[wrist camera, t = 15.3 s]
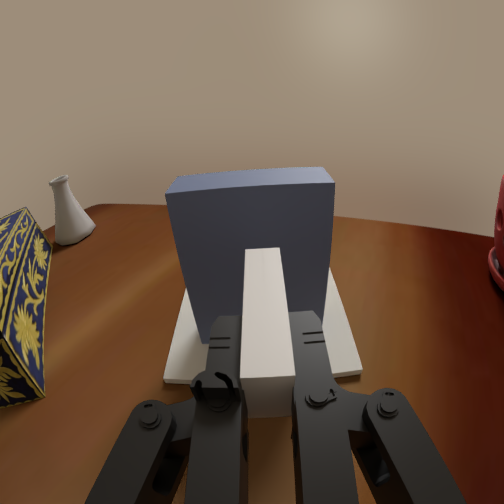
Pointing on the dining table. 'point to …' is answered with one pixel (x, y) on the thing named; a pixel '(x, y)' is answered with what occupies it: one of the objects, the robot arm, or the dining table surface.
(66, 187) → the flask
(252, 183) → the book
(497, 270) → the plant pot
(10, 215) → the decorative box
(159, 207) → the dining table surface
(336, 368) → the mat
